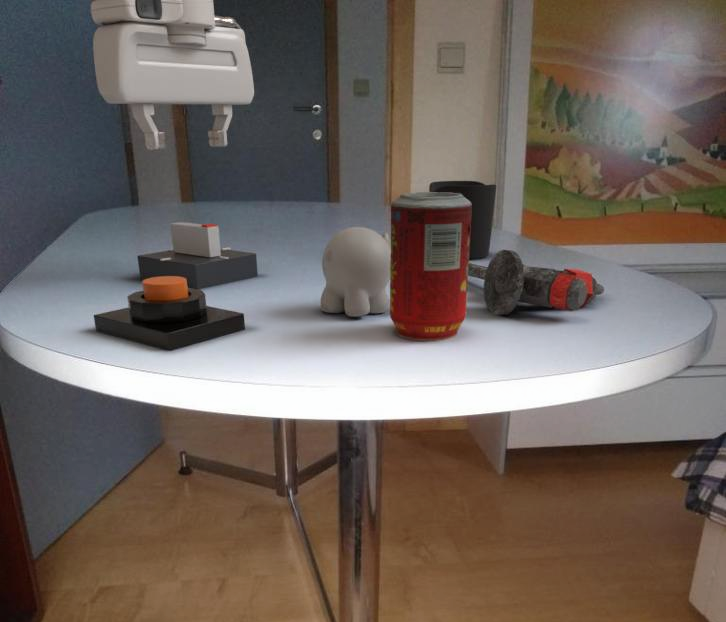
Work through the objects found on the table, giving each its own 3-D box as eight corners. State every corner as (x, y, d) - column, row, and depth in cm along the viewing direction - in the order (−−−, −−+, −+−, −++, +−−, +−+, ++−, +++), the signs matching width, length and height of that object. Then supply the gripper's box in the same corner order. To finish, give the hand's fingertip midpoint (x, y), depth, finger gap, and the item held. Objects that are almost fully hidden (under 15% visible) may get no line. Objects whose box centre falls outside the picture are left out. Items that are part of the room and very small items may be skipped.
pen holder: (498, 253, 108) (504, 181, 104) (480, 263, 101) (485, 186, 96) (439, 249, 112) (442, 180, 107) (417, 259, 104) (419, 184, 100)
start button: (135, 300, 67) (133, 281, 66) (170, 292, 70) (167, 274, 69) (163, 306, 65) (160, 286, 64) (197, 298, 68) (195, 279, 67)
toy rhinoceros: (437, 305, 78) (440, 222, 74) (355, 325, 71) (354, 234, 67) (390, 295, 83) (391, 217, 79) (309, 312, 75) (305, 227, 72)
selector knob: (173, 252, 92) (169, 221, 90) (184, 250, 93) (181, 220, 92) (210, 257, 88) (207, 225, 86) (221, 255, 89) (218, 224, 88)
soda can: (480, 337, 66) (489, 194, 61) (414, 348, 63) (417, 199, 58) (438, 321, 72) (443, 189, 66) (376, 330, 69) (375, 193, 64)
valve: (649, 334, 74) (524, 326, 68) (516, 295, 96) (414, 286, 90) (666, 270, 71) (538, 256, 66) (525, 245, 94) (421, 233, 88)
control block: (96, 332, 69) (89, 295, 67) (171, 314, 75) (167, 280, 73) (170, 352, 63) (165, 312, 61) (245, 331, 69) (242, 294, 67)
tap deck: (136, 280, 91) (132, 254, 90) (204, 267, 99) (201, 243, 98) (194, 291, 85) (191, 264, 84) (261, 276, 93) (260, 251, 92)
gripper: (224, 20, 88) (234, 145, 95) (75, 3, 74) (99, 150, 80) (261, 16, 85) (269, 145, 91) (112, -4, 71) (134, 151, 77)
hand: (188, 148), depth 86 cm, fingers open, 8 cm apart
